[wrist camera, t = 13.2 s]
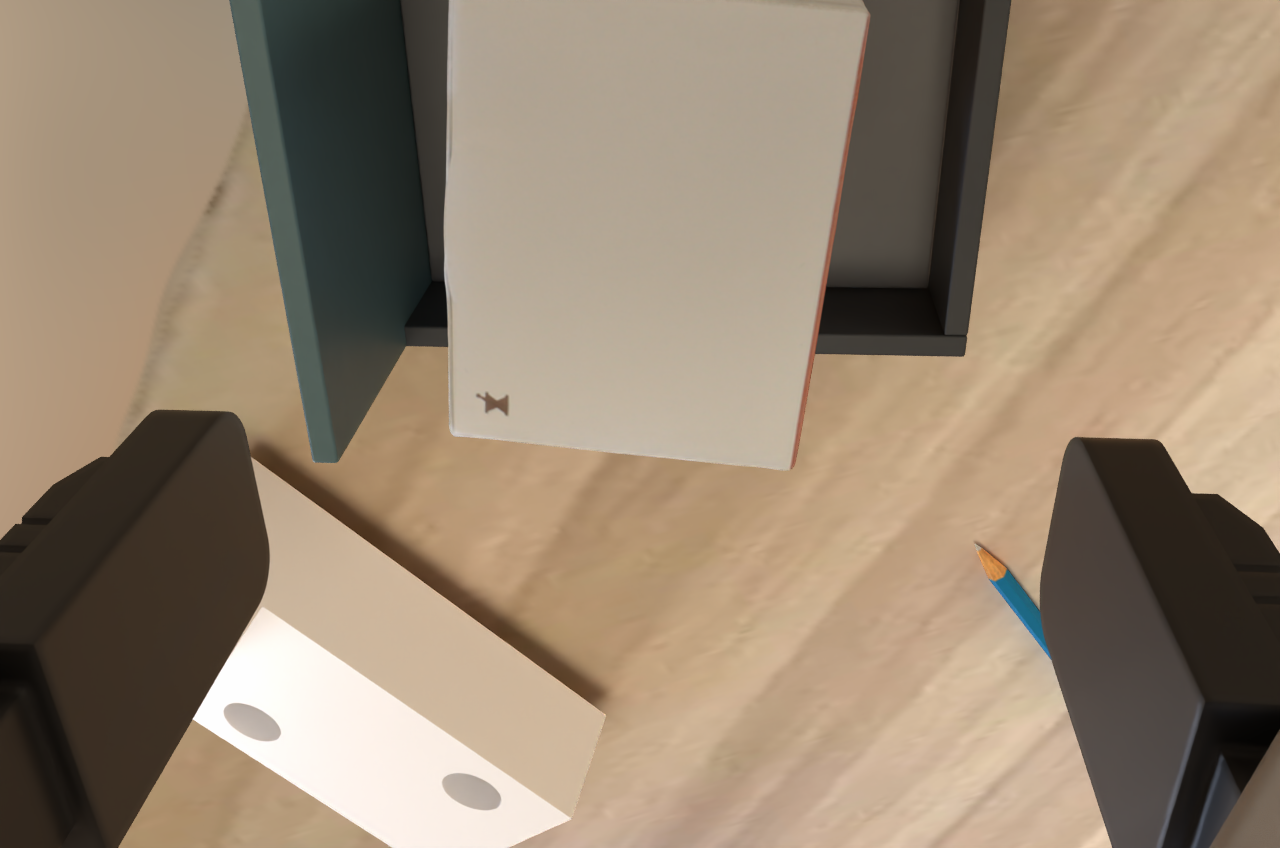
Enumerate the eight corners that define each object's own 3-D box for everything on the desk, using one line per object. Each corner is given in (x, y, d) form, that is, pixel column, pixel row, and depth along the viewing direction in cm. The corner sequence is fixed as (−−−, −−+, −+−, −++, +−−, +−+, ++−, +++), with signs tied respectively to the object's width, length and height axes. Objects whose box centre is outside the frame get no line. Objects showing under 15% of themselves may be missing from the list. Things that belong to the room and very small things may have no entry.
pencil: (1168, 808, 51) (1173, 821, 50) (963, 542, 45) (966, 553, 44) (1186, 801, 51) (1191, 814, 50) (982, 532, 45) (985, 543, 44)
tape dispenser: (150, 558, 50) (-11, 766, 42) (246, 453, 44) (78, 674, 36) (479, 782, 55) (388, 1004, 47) (606, 715, 49) (525, 958, 41)
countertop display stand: (963, -234, 32) (1125, -230, 18) (917, 223, 39) (1010, 482, 25) (421, -224, 34) (189, -211, 20) (463, 219, 40) (311, 463, 26)
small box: (780, 228, 32) (795, 485, 21) (548, 204, 32) (438, 445, 21) (826, -95, 28) (878, 4, 17) (562, -120, 28) (435, -40, 17)
